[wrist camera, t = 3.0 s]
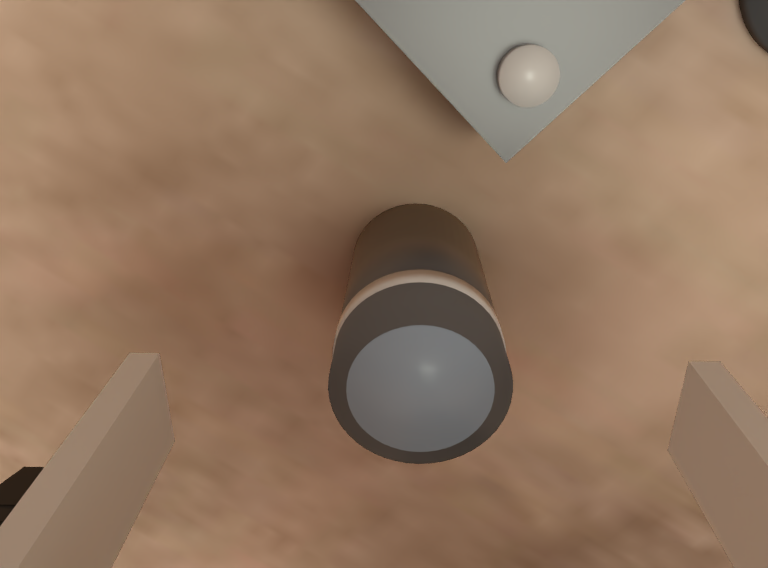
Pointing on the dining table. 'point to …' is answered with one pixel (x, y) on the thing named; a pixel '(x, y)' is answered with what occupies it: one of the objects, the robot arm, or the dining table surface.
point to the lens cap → (756, 20)
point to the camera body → (515, 54)
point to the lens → (418, 341)
